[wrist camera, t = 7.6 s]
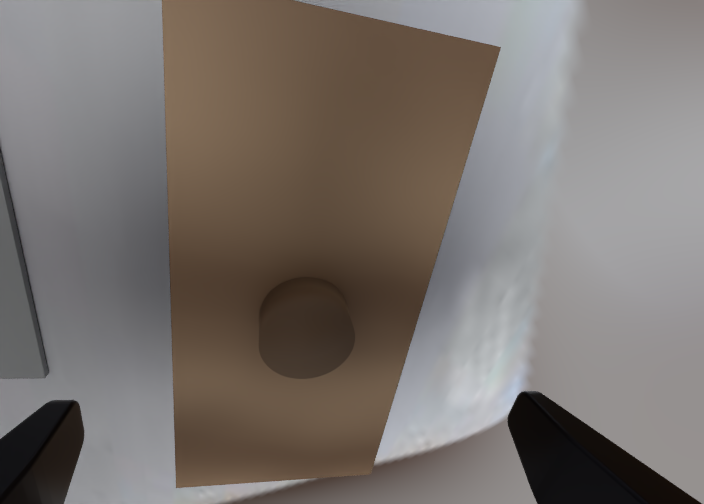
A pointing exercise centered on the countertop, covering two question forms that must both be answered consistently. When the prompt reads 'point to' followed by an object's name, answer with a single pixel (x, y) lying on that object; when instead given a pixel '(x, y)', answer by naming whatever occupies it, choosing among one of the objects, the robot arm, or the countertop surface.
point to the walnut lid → (303, 225)
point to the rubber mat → (16, 301)
